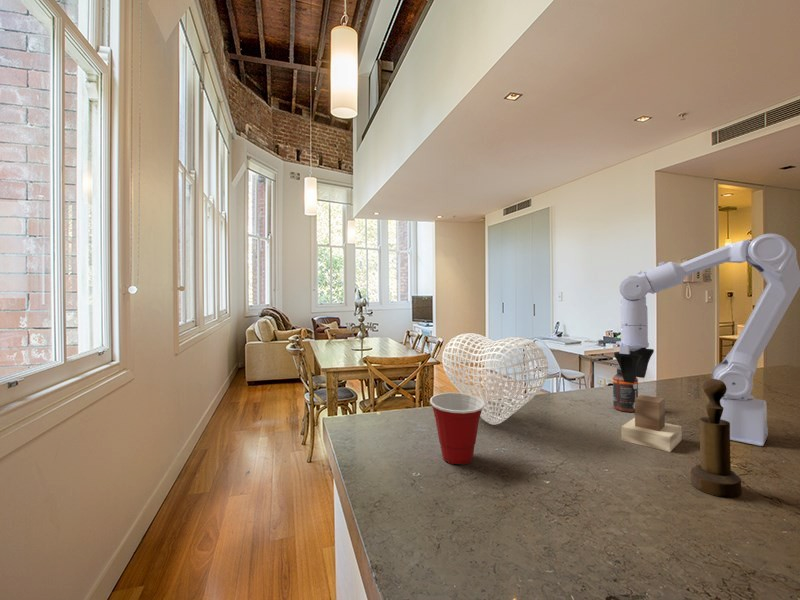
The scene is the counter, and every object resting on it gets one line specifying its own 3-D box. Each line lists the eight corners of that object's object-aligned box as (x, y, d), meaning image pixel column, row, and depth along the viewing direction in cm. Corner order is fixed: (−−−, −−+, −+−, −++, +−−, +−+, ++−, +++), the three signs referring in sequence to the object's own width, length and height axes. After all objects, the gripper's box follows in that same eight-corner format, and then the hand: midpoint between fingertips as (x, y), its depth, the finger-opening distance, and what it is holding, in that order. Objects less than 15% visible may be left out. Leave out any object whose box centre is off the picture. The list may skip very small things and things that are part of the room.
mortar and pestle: (692, 474, 70) (691, 373, 69) (740, 485, 65) (740, 377, 65) (689, 490, 64) (688, 380, 64) (742, 502, 60) (741, 385, 60)
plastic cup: (451, 476, 71) (449, 410, 71) (420, 455, 80) (419, 396, 80) (498, 463, 76) (496, 401, 76) (464, 444, 85) (463, 389, 85)
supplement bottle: (643, 412, 105) (642, 370, 104) (620, 413, 105) (620, 370, 105) (630, 406, 111) (630, 366, 110) (609, 406, 111) (608, 366, 110)
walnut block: (664, 425, 86) (664, 398, 86) (659, 431, 83) (658, 402, 83) (641, 421, 89) (641, 394, 89) (635, 426, 86) (634, 398, 86)
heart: (562, 431, 92) (560, 336, 92) (523, 449, 82) (521, 343, 82) (470, 406, 114) (468, 329, 113) (431, 417, 104) (429, 334, 104)
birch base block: (681, 439, 85) (681, 426, 85) (670, 452, 79) (669, 437, 79) (635, 429, 92) (635, 417, 92) (621, 440, 86) (621, 426, 86)
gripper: (626, 322, 105) (627, 372, 106) (605, 326, 96) (606, 382, 96) (657, 323, 100) (657, 376, 100) (638, 327, 90) (638, 386, 91)
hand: (634, 379), depth 98 cm, fingers open, 7 cm apart
